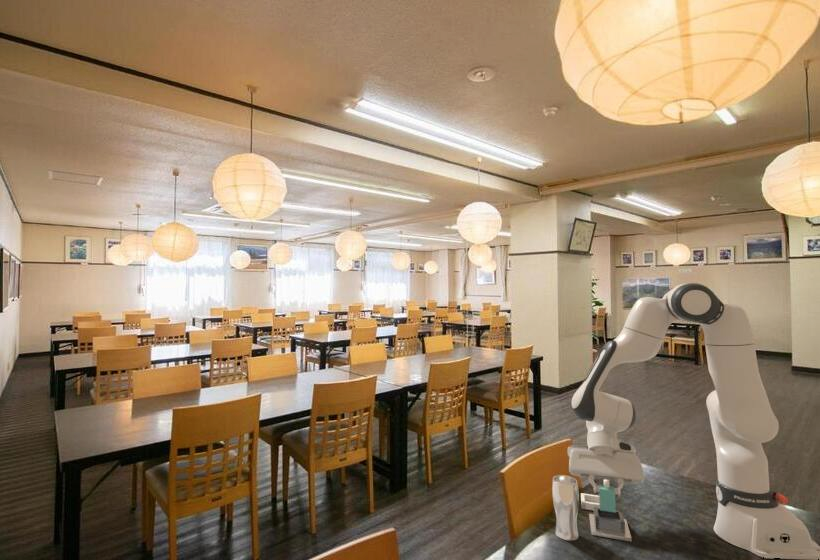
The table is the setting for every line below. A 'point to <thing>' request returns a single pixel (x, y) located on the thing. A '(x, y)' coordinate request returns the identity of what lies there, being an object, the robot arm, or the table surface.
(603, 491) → the teal bottle
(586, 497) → the white shallow rectangular tray
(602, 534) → the port
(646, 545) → the table surface
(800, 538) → the robot arm
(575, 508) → the beer glass
